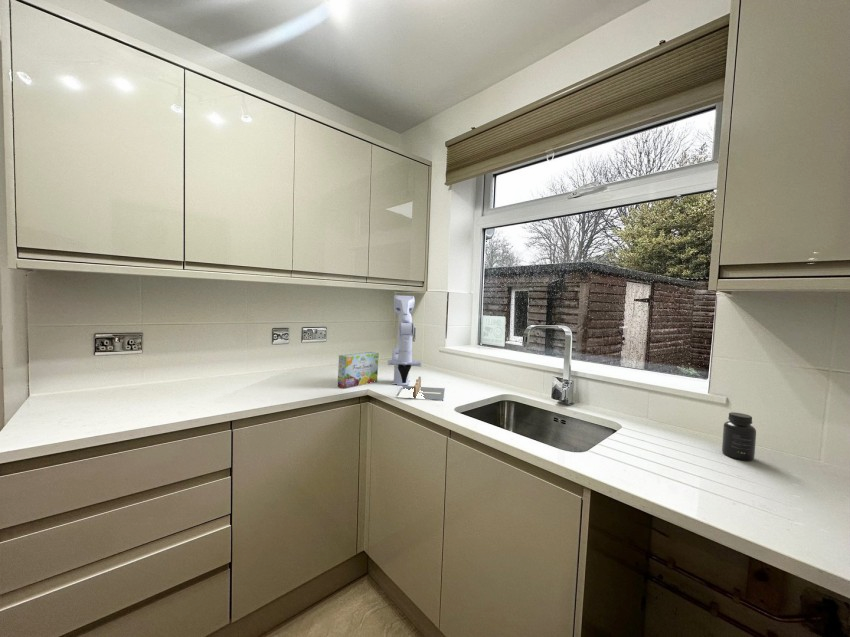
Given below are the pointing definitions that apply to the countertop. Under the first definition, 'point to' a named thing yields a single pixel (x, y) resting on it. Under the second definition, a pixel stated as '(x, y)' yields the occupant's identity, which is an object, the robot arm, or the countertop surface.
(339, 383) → the snack box
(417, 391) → the hinged fence section
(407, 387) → the board
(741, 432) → the supplement bottle
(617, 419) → the countertop surface
